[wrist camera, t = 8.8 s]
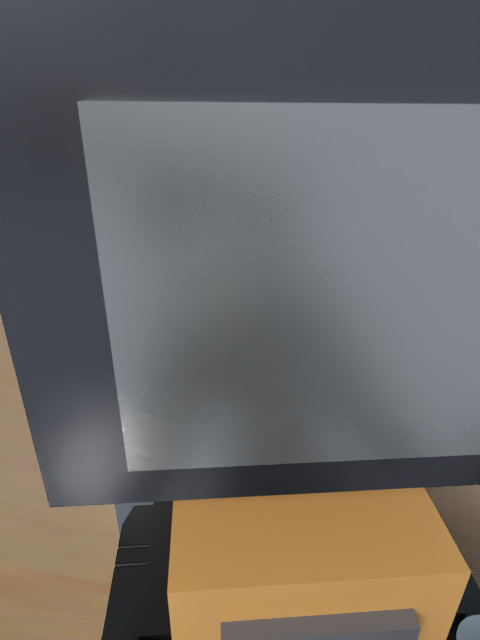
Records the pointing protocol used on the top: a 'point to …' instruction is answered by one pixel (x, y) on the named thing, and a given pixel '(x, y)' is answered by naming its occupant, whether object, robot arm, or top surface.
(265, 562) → the orange module
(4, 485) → the top surface
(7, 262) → the rail plate
